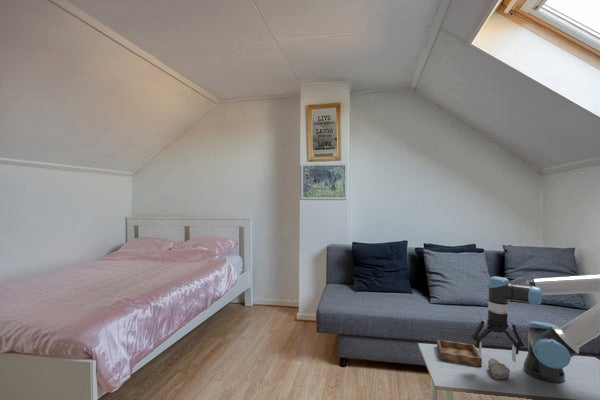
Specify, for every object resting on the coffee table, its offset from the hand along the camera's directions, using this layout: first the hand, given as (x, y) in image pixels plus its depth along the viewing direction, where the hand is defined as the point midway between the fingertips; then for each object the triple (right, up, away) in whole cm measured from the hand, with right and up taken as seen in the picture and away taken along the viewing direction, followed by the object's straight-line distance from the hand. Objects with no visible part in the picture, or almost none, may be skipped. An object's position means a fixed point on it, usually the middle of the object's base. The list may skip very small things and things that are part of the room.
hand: (496, 358), depth 143 cm
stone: (+1, -8, 0) cm, 8 cm away
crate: (-9, -8, +17) cm, 21 cm away
